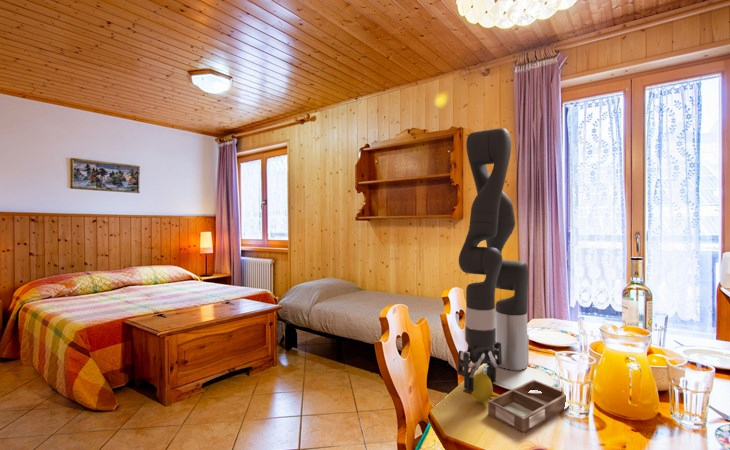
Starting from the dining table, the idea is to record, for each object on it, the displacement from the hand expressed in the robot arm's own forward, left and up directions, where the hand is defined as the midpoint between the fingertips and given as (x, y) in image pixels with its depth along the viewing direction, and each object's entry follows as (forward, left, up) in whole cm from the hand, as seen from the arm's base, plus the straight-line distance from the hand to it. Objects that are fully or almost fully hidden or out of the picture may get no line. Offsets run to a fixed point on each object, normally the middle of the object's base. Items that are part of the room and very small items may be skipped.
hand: (480, 386), depth 98 cm
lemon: (-1, 0, -5) cm, 5 cm away
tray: (-7, +9, -5) cm, 12 cm away
